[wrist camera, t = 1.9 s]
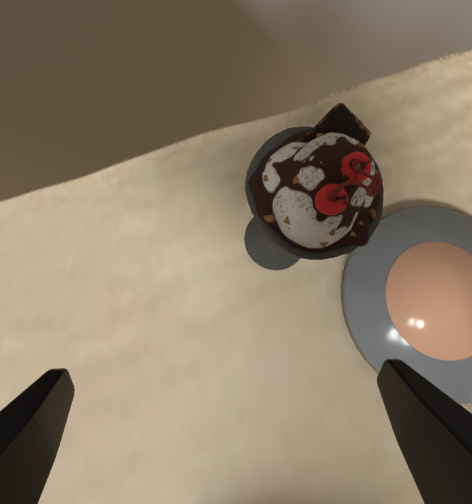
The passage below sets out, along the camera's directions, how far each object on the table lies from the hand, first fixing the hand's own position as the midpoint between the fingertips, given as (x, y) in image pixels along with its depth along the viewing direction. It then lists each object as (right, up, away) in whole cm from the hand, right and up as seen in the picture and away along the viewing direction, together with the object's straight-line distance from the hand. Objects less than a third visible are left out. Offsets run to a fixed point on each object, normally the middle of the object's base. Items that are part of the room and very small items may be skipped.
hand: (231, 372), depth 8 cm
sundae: (+3, +4, +15) cm, 16 cm away
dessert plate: (+16, 0, +15) cm, 22 cm away
